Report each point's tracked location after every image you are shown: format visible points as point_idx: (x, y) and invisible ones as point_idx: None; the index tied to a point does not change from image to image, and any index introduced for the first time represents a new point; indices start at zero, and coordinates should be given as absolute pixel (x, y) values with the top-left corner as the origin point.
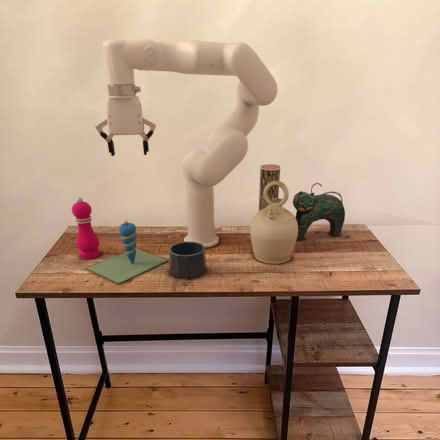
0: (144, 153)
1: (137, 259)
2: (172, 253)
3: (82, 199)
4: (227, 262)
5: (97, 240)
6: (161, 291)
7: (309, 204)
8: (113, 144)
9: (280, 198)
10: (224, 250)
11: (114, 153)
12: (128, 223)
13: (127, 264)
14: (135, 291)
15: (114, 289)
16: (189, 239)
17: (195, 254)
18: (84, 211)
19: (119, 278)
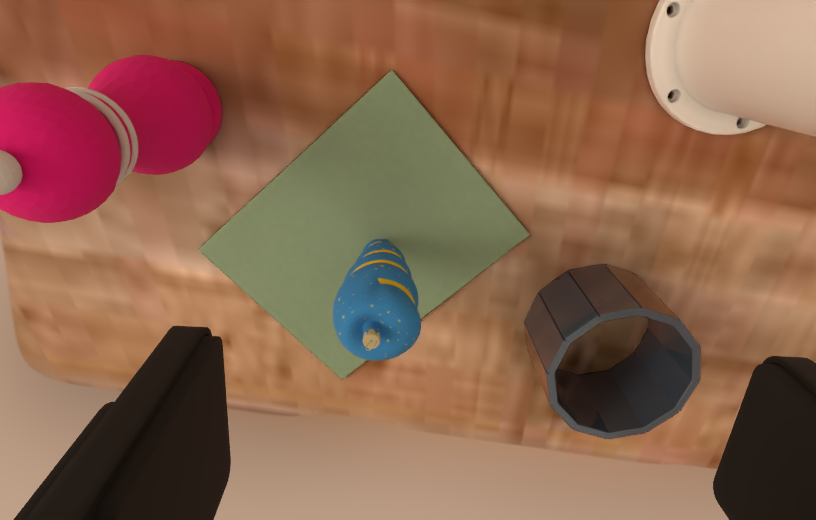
0: (731, 509)
1: (403, 206)
2: (555, 411)
3: (15, 176)
4: (755, 286)
5: (201, 133)
6: (477, 437)
7: None
8: (152, 490)
9: None
10: (797, 170)
11: (219, 396)
12: (382, 316)
13: (362, 247)
14: (397, 425)
15: (330, 405)
16: (679, 66)
17: (640, 432)
18: (82, 215)
19: (340, 351)
